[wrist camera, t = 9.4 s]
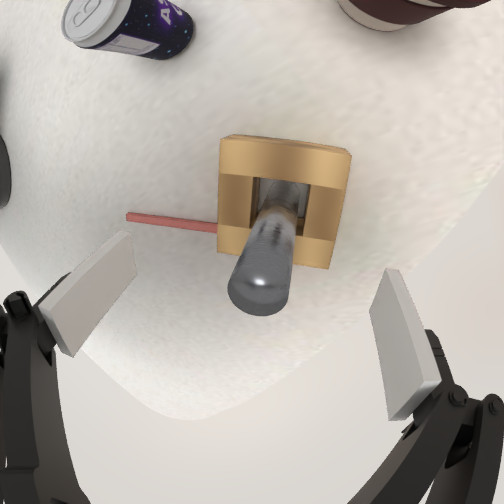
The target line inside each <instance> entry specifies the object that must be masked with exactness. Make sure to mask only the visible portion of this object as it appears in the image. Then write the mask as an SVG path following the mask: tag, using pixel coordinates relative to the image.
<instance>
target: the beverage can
mask: <svg viewBox="0 0 504 504" xmlns="http://www.w3.org/2000/svg"><path fill="white" fill-rule="evenodd" d="M61 29H62V33H63V35H64V37H65V38H66V39H67V40H69V41H71V42H73V43H74V44H76V45H77V46H78V47H80V48H85V49H95V50H103V51H111V52H118V53H124V54H130V55H136V56H141V57H146V58H151V59H156V60H163V59H168V58H171V57H173V56H175V55H177V54H178V53H179V52H181V51H182V50H183V49H184V48H185V47H186V46H187V44H188V43H189V41H190V39H191V37H192V34H193V21H192V19H191V17H190V16H189V14H188V13H186V12H185V11H183V10H182V9H180V8H179V7H177V6H176V5H174V4H172V3H171V2H169V1H167V0H70V1H69V2H68V4H67V6H66V8H65V10H64V13H63V16H62V21H61Z"/></svg>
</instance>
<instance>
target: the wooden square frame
mask: <svg viewBox="0 0 504 504" xmlns="http://www.w3.org/2000/svg"><path fill="white" fill-rule="evenodd" d="M351 158H352V156H351V155H350V154H349V153H348V152H347V150H346V149H344V148H338V147H333V146H327V145H321V144H314V143H308V142H301V141H294V140H286V139H277V138H268V137H258V136H247V135H230V136H228V137H225V138H223V139H220V157H219V185H218V224H217V252H220V253H226V254H232V255H238V256H240V255H241V253H242V251H243V248H244V246H245V244H246V241H247V239H248V237H249V235H250V232H251V230H252V228H253V226H254V223H255V221H256V219H257V217H258V215H259V212H257V207H258V195H259V183H260V177H261V178H269V179H277V180H285V181H292V182H299V183H305V184H309V186H308V193H307V200H306V206H305V213H304V218H297V225H296V235H295V245H294V254H293V262H292V264H296V265H302V266H309V267H315V268H322V269H329V265H330V261H331V257H332V253H333V248H334V244H335V240H336V235H337V231H338V226H339V222H340V217H341V212H342V207H343V202H344V197H345V192H346V187H347V181H348V176H349V170H350V164H351Z"/></svg>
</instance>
